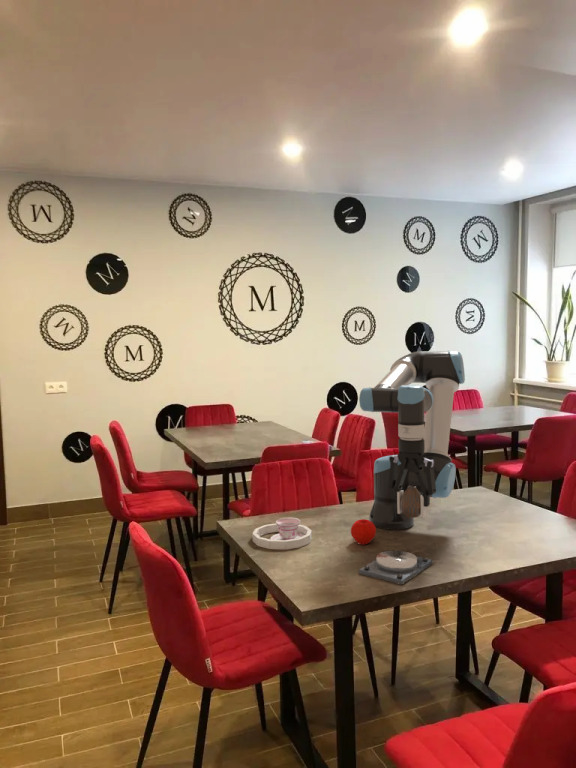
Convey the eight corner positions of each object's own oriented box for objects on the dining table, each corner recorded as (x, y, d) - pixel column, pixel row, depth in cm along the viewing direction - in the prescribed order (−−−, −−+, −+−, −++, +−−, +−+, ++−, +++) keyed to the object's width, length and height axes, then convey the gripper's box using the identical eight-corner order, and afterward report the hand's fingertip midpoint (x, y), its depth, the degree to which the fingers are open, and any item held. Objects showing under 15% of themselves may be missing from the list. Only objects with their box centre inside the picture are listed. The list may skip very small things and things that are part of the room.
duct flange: (359, 573, 166) (359, 562, 166) (391, 554, 180) (391, 544, 180) (402, 584, 158) (402, 572, 158) (432, 564, 172) (432, 552, 172)
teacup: (284, 532, 204) (283, 513, 204) (314, 538, 197) (314, 519, 197) (262, 542, 194) (261, 523, 194) (293, 549, 187) (293, 529, 187)
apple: (380, 546, 188) (379, 522, 187) (355, 548, 186) (354, 524, 186) (372, 538, 196) (372, 515, 195) (348, 540, 194) (347, 517, 194)
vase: (409, 510, 186) (408, 482, 186) (428, 515, 181) (428, 486, 181) (395, 516, 182) (395, 487, 181) (415, 520, 177) (415, 491, 176)
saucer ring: (241, 541, 194) (241, 534, 194) (278, 527, 209) (278, 519, 209) (286, 553, 183) (286, 545, 183) (322, 537, 197) (322, 529, 197)
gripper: (375, 437, 183) (376, 512, 185) (437, 443, 170) (437, 524, 172) (387, 433, 188) (388, 506, 191) (448, 439, 176) (449, 517, 178)
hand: (412, 514), depth 181 cm, fingers closed on vase, 7 cm apart
